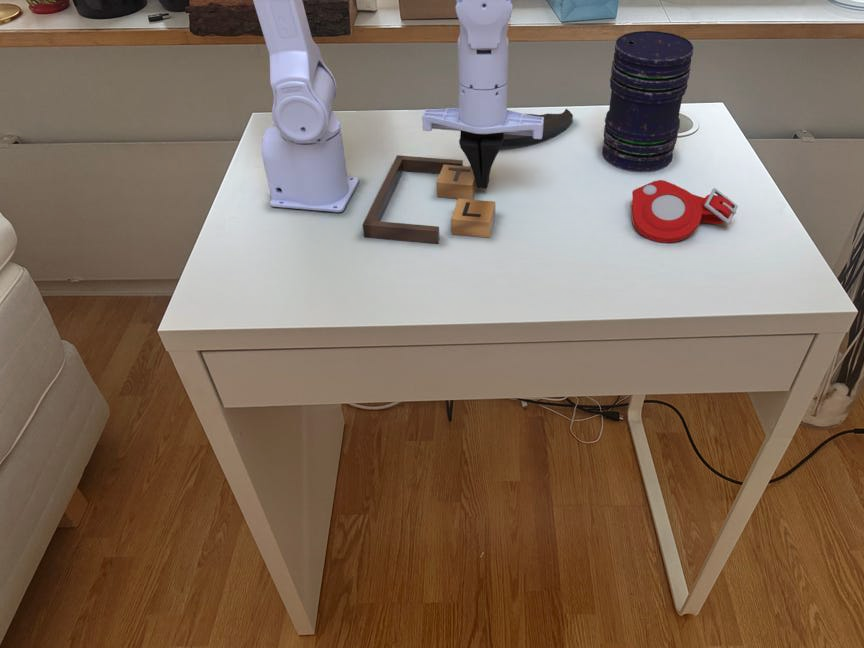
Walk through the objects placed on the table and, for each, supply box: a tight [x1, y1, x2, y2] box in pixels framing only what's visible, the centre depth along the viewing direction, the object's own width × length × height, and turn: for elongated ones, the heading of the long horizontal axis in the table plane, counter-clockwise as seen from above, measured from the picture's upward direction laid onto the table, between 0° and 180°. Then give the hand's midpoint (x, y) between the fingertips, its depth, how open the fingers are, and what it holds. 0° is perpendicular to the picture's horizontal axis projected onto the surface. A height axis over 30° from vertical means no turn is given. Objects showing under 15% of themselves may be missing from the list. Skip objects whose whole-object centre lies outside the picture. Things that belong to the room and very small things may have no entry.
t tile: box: [436, 165, 477, 200], centre depth 95 cm, size 5×5×2 cm
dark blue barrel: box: [601, 30, 695, 173], centre depth 97 cm, size 10×10×15 cm
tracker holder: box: [630, 179, 739, 244], centre depth 89 cm, size 12×4×10 cm
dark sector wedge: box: [499, 108, 574, 151], centre depth 107 cm, size 8×14×2 cm, turn 107°
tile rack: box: [362, 154, 464, 245], centre depth 92 cm, size 9×17×2 cm, turn 171°
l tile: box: [450, 199, 496, 239], centre depth 89 cm, size 5×5×2 cm
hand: (482, 184), depth 94 cm, fingers closed
